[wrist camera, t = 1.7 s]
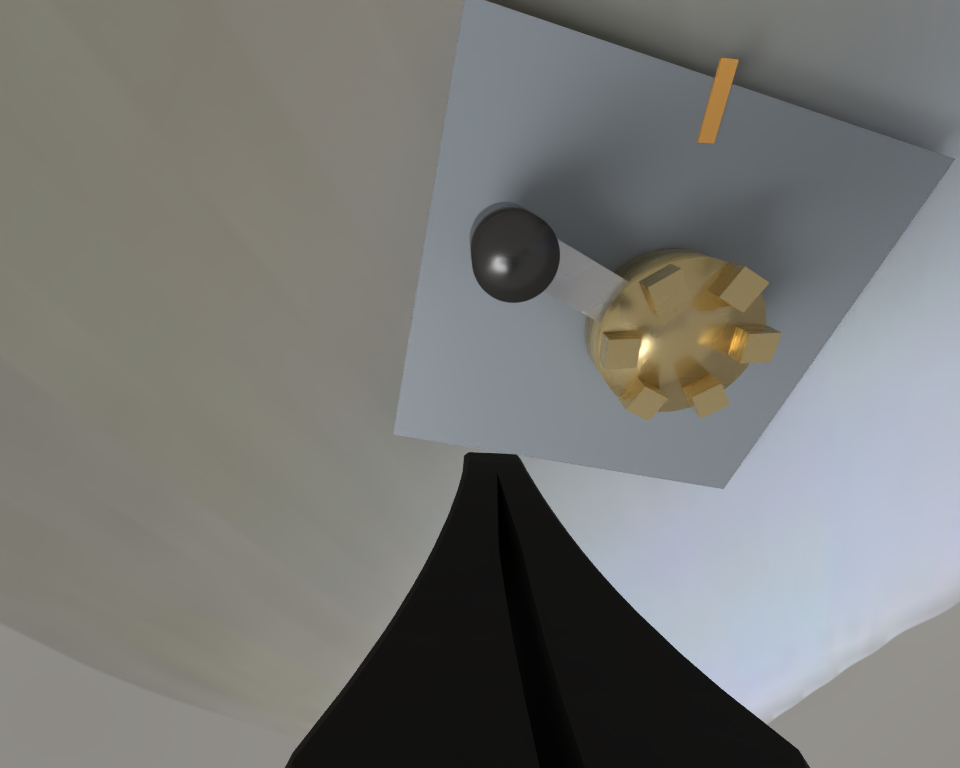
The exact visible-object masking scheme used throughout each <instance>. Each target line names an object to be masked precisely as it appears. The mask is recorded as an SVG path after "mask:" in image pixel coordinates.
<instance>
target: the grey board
mask: <svg viewBox="0 0 960 768" xmlns="http://www.w3.org/2000/svg"><path fill="white" fill-rule="evenodd" d="M738 61H739V59H729V58H720V60H719V64H718V68H717V71H716V75H715V78H714V77H711V76H708V75H705V74H702V73H699V72H696V71H693V70H690V69H687V68H684V67H681V66H678V65H675V64H672V63H669V62H666V61H663V60H660V59H657V58H654V57H651V56H648V55H645V54H643V53H640V52H637V51H634V50H631V49H628V48H625V47H622V46H619V45H616V44H613V43H610V42H607V41H604V40H601V39H598V38H595V37H592V36H589V35H586V34H583V33H580V32H577V31H574V30H571V29H569V28H566V27H563V26H560V25H557V24H554V23H551V22H548V21H545V20H542V19H539V18H536V17H533V16H530V15H527V14H524V13H521V12H518V11H515V10H512V9H509V8H506V7H503V6H500V5H497V4H495V3H492V2H489V1H486V0H464V4H463V10H462V16H461V22H460V28H459V34H458V40H457V46H456V53H455V59H454V65H453V71H452V77H451V83H450V89H449V95H448V101H447V108H446V114H445V120H444V126H443V132H442V138H441V144H440V150H439V157H438V163H437V169H436V175H435V181H434V187H433V193H432V199H431V206H430V212H429V218H428V224H427V230H426V236H425V242H424V248H423V255H422V261H421V267H420V273H419V279H418V285H417V291H416V297H415V304H414V310H413V316H412V322H411V328H410V334H409V340H408V346H407V353H406V359H405V365H404V371H403V377H402V383H401V389H400V395H399V402H398V408H397V414H396V420H395V426H394V432H393V435H399V436H405V437H412V438H418V439H424V440H430V441H436V442H442V443H448V444H454V445H460V446H466V447H472V448H478V449H484V450H490V451H496V452H502V453H509V454H517V455H521V456H527V457H533V458H539V459H545V460H551V461H557V462H563V463H569V464H575V465H581V466H587V467H593V468H600V469H606V470H612V471H618V472H624V473H630V474H636V475H642V476H648V477H654V478H660V479H666V480H672V481H678V482H684V483H690V484H697V485H703V486H709V487H715V488H721V489H724V488H725V486H726V485H727V483H728V482H729V480H730V479H731V478H732V476H733V475H734V473H735V472H736V470H737V469H738V468H739V466H740V465H741V463H742V462H743V460H744V459H745V458H746V456H747V455H748V453H749V452H750V450H751V449H752V448H753V446H754V445H755V443H756V442H757V441H758V439H759V438H760V436H761V435H762V433H763V432H764V431H765V429H766V428H767V426H768V425H769V423H770V422H771V421H772V419H773V418H774V416H775V415H776V413H777V412H778V411H779V409H780V408H781V406H782V405H783V403H784V402H785V401H786V399H787V398H788V396H789V395H790V393H791V392H792V391H793V389H794V388H795V386H796V385H797V384H798V382H799V381H800V379H801V378H802V376H803V375H804V374H805V372H806V371H807V369H808V368H809V366H810V365H811V364H812V362H813V361H814V359H815V358H816V356H817V355H818V354H819V352H820V351H821V349H822V348H823V346H824V345H825V344H826V342H827V341H828V339H829V338H830V337H831V335H832V334H833V332H834V331H835V329H836V328H837V327H838V325H839V324H840V322H841V321H842V319H843V318H844V317H845V315H846V314H847V312H848V311H849V309H850V308H851V307H852V305H853V304H854V302H855V301H856V299H857V298H858V297H859V295H860V294H861V292H862V291H863V289H864V288H865V287H866V285H867V284H868V282H869V281H870V280H871V278H872V277H873V275H874V274H875V272H876V271H877V270H878V268H879V267H880V265H881V264H882V262H883V261H884V260H885V258H886V257H887V255H888V254H889V252H890V251H891V250H892V248H893V247H894V245H895V244H896V242H897V241H898V240H899V238H900V237H901V235H902V234H903V232H904V231H905V230H906V228H907V227H908V225H909V224H910V223H911V221H912V220H913V218H914V217H915V215H916V214H917V213H918V211H919V210H920V208H921V207H922V205H923V204H924V203H925V201H926V200H927V198H928V197H929V195H930V194H931V193H932V191H933V190H934V188H935V187H936V185H937V184H938V183H939V181H940V180H941V178H942V177H943V176H944V174H945V173H946V171H947V170H948V168H949V167H950V166H951V164H952V163H953V161H954V160H955V159H953V158H950V157H947V156H944V155H941V154H938V153H936V152H933V151H930V150H927V149H924V148H921V147H918V146H915V145H912V144H909V143H906V142H903V141H900V140H897V139H894V138H891V137H888V136H885V135H882V134H879V133H876V132H873V131H870V130H867V129H864V128H862V127H859V126H856V125H853V124H850V123H847V122H844V121H841V120H838V119H835V118H832V117H829V116H826V115H823V114H820V113H817V112H814V111H811V110H808V109H805V108H802V107H799V106H796V105H793V104H790V103H788V102H785V101H782V100H779V99H776V98H773V97H770V96H767V95H764V94H761V93H758V92H755V91H752V90H749V89H746V88H743V87H740V86H737V85H734V84H732V81H733V78H734V75H735V71H736V68H737V64H738ZM497 202H512V203H516V204H518V205H520V206H522V207H524V208H525V209H527V210H528V211H530V212H532V213H533V214H535V215H537V216H538V217H540V218H541V219H543V220H544V221H545V222H546V223H547V224H548V225H549V226H550V227H551V228H552V230H553V231H554V233H555V235H556V237H557V238H558V239H559V240H561V241H563V242H564V243H566V244H568V245H569V246H571V247H573V248H574V249H576V250H578V251H579V252H581V253H583V254H584V255H586V256H588V257H589V258H591V259H593V260H594V261H596V262H598V263H599V264H601V265H603V266H604V267H606V268H608V269H609V270H611V271H613V272H615V271H617V270H618V269H619V268H620V267H621V266H623V265H624V264H626V263H627V262H629V261H630V260H632V259H634V258H636V257H638V256H640V255H643V254H645V253H648V252H651V251H654V250H659V249H664V248H685V249H690V250H694V251H697V252H700V253H703V254H705V255H708V256H711V257H714V258H717V259H720V260H723V261H725V262H728V263H730V262H734V263H737V264H740V265H743V266H746V267H747V268H749V269H750V270H752V271H753V272H754V273H756V274H757V275H759V276H760V277H762V278H763V279H765V280H766V281H768V282H769V284H768V285H767V286H766V288H765V289H764V290H763V291H762V295H763V298H764V301H765V307H766V324H765V325H768V326H770V327H772V328H774V329H776V330H778V331H780V332H782V334H781V336H780V339H779V342H778V345H777V347H776V350H775V353H774V356H773V358H772V361H771V362H764V363H750V364H749V365H748V367H747V368H746V369H745V370H744V372H743V373H742V374H741V375H740V376H739V377H738V378H737V379H736V380H735V381H734V382H733V383H732V384H731V385H730V386H728V387H727V388H726V389H725V393H726V396H727V399H728V402H729V406H727V407H725V408H722V409H720V410H718V411H716V412H714V413H712V414H710V415H707V416H705V417H703V418H700V417H699V416H698V415H697V414H696V413H695V412H694V411H693V410H692V409H691V408H686V409H682V410H677V411H670V412H656V413H655V415H654V416H653V417H652V418H651V419H650V420H649V421H648V420H645V419H643V418H641V417H639V416H637V415H635V414H633V413H631V412H629V411H627V410H626V409H625V408H624V406H623V405H622V404H621V402H620V401H619V399H620V398H619V397H617V396H616V395H615V394H614V393H613V391H612V390H611V389H610V388H609V386H608V385H607V383H606V382H605V380H604V379H603V377H602V376H601V374H600V373H599V371H598V370H597V368H596V367H595V365H594V364H593V362H592V361H591V359H590V357H589V354H588V352H587V348H586V344H585V336H584V335H585V323H586V317H587V315H585V314H583V313H581V312H579V311H578V310H576V309H574V308H572V307H570V306H569V305H567V304H565V303H563V302H561V301H559V300H558V299H556V298H554V297H552V296H550V295H549V294H547V293H545V292H542V293H541V294H539V295H538V296H536V297H535V298H533V299H530V300H528V301H524V302H519V303H508V302H503V301H499V300H497V299H495V298H493V297H491V296H490V295H488V294H487V293H486V292H485V291H484V290H483V289H482V288H481V286H480V285H479V284H478V282H477V280H476V278H475V275H474V273H473V268H472V261H471V252H470V242H469V236H470V230H471V226H472V224H473V222H474V220H475V218H476V217H477V215H478V214H479V213H480V212H481V211H482V210H483V209H485V208H486V207H488V206H489V205H491V204H494V203H497Z"/></svg>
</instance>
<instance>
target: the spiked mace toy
mask: <svg viewBox="0 0 960 768" xmlns="http://www.w3.org/2000/svg"><path fill="white" fill-rule="evenodd" d="M469 242H470V252H471V261H472V268H473V273H474V275H475V278H476V280H477V282H478V284H479V285H480V286H481V288H482V289H483V290H484V291H485V292H486V293H487V294H488V295H490V296H491V297H493V298H495V299H497V300H499V301H503V302H508V303H519V302H524V301H528V300H530V299H533V298H535V297H536V296H538V295H539V294H541V293H542V292H545V293H547V294H549V295H550V296H552V297H554V298H556V299H558V300H559V301H561V302H563V303H565V304H567V305H569V306H570V307H572V308H574V309H576V310H578V311H579V312H581V313H583V314H585V315H587V317H586V323H585V335H584V336H585V344H586V348H587V352H588V354H589V357H590V359H591V361H592V362H593V364H594V365H595V367H596V368H597V370H598V371H599V373H600V374H601V376H602V377H603V379H604V380H605V382H606V383H607V385H608V386H609V388H610V389H611V390H612V391H613V393H614V394H615V395H616V396H617V397H619V398H620V399H619V401H620V402H621V404H622V405H623V406H624V408H625V409H626V410H627V411H629V412H631V413H633V414H635V415H637V416H639V417H641V418H643V419H645V420H648V421H649V420H650V419H651V418H652V417H653V416H654V415H655V413H656V412H670V411H677V410H682V409H686V408H691V409H692V410H693V411H694V412H695V413H696V414H697V415H698V416H699V417H700V418H703V417H705V416H707V415H710V414H712V413H714V412H716V411H718V410H720V409H722V408H725V407H727V406H729V402H728V399H727V396H726V393H725V389H726V388H727V387H728V386H730V385H731V384H732V383H733V382H734V381H735V380H736V379H737V378H738V377H739V376H740V375H741V374H742V373H743V372H744V370H745V369H746V368H747V367H748V365H749V364H750V363H764V362H771V361H772V358H773V356H774V353H775V350H776V347H777V345H778V342H779V339H780V336H781V334H782V332H780V331H778V330H776V329H774V328H772V327H770V326H768V325H765V324H766V307H765V301H764V298H763V295H762V291H763V290H764V289H765V288H766V286H767V285H768V284H769V282H768V281H766V280H765V279H763V278H762V277H760V276H759V275H757V274H756V273H754V272H753V271H752V270H750V269H749V268H747V267H746V266H743V265H740V264H737V263H734V262H730V263H728V262H725V261H723V260H720V259H717V258H714V257H711V256H708V255H705V254H703V253H700V252H697V251H694V250H690V249H685V248H664V249H659V250H654V251H651V252H648V253H645V254H643V255H640V256H638V257H636V258H634V259H632V260H630V261H629V262H627V263H626V264H624V265H623V266H621V267H620V268H619V269H618V270H617V271H615V272H613V271H611V270H609V269H608V268H606V267H604V266H603V265H601V264H599V263H598V262H596V261H594V260H593V259H591V258H589V257H588V256H586V255H584V254H583V253H581V252H579V251H578V250H576V249H574V248H573V247H571V246H569V245H568V244H566V243H564V242H563V241H561V240H559V239H558V238H557V237H556V235H555V233H554V231H553V230H552V228H551V227H550V226H549V225H548V224H547V223H546V222H545V221H544V220H543V219H541V218H540V217H538V216H537V215H535V214H533V213H532V212H530V211H528V210H527V209H525V208H524V207H522V206H520V205H518V204H516V203H512V202H497V203H494V204H491V205H489V206H488V207H486V208H485V209H483V210H482V211H481V212H480V213H479V214H478V215H477V217H476V218H475V220H474V222H473V224H472V226H471V230H470V236H469Z"/></svg>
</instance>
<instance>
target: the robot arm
mask: <svg viewBox="0 0 960 768" xmlns="http://www.w3.org/2000/svg"><path fill="white" fill-rule="evenodd" d="M285 768H810V767H809V765H808V764H807V762H806V761H805V759H804V758H803V756H802V754H801V753H800V751H799V750H798V749H797V748H796V747H794V746H793V745H792V744H790V743H789V742H788V741H787V740H785V739H784V738H783V737H781V736H780V735H779V734H778V733H776V732H775V731H774V730H773V729H772V728H770V727H769V726H768V725H766V724H765V723H764V722H763V721H761V720H760V719H759V718H758V717H756V716H755V715H754V714H753V713H751V712H750V711H749V710H747V709H746V708H745V707H744V706H742V705H741V704H740V703H739V702H737V701H736V700H735V699H734V698H732V697H731V696H730V695H728V694H727V693H726V692H725V691H724V690H722V689H721V688H720V687H719V686H718V685H716V684H715V683H714V682H713V681H712V680H711V679H709V678H708V677H707V676H706V675H705V674H704V673H703V672H701V671H700V670H699V669H698V668H697V667H696V666H694V665H693V664H692V663H691V662H690V661H689V660H687V659H686V658H685V657H684V656H683V655H682V654H681V653H680V652H678V651H677V650H676V649H675V648H674V647H673V646H672V645H671V644H670V643H669V642H668V641H667V640H666V639H665V638H664V637H663V636H662V635H661V634H660V633H659V632H657V631H656V630H655V629H654V628H653V627H652V626H651V625H650V624H649V623H648V622H647V621H646V620H645V619H644V618H643V617H642V616H641V615H640V614H639V613H637V611H636V610H635V609H634V608H633V607H632V606H631V605H630V604H629V603H628V602H627V601H626V600H625V599H624V598H623V597H622V596H621V595H620V594H619V593H618V592H617V591H616V590H615V588H614V587H613V586H612V585H611V584H610V583H609V582H608V581H607V579H606V578H605V577H604V576H603V575H602V574H601V573H600V572H599V571H598V569H597V568H596V567H595V566H594V565H593V563H592V562H591V561H590V560H589V559H588V557H587V556H586V555H585V554H584V553H583V551H582V550H581V549H580V547H579V546H578V545H577V544H576V542H575V541H574V540H573V538H572V537H571V536H570V535H569V533H568V532H567V531H566V529H565V528H564V526H563V525H562V524H561V522H560V521H559V520H558V518H557V517H556V515H555V514H554V512H553V511H552V509H551V508H550V507H549V505H548V504H547V502H546V501H545V499H544V498H543V496H542V495H541V493H540V491H539V490H538V488H537V487H536V485H535V483H534V482H533V480H532V478H531V477H530V475H529V473H528V472H527V470H526V468H525V466H524V465H523V463H522V461H521V459H520V458H519V457H518V455H517V454H498V453H474V452H469V453H467V454H466V455H464V464H463V472H462V477H461V480H460V484H459V487H458V490H457V493H456V496H455V499H454V501H453V504H452V507H451V510H450V512H449V515H448V517H447V519H446V522H445V524H444V526H443V528H442V530H441V533H440V535H439V537H438V539H437V541H436V544H435V546H434V548H433V550H432V552H431V553H430V555H429V557H428V559H427V561H426V563H425V565H424V567H423V569H422V570H421V572H420V574H419V576H418V578H417V579H416V581H415V583H414V585H413V586H412V588H411V590H410V591H409V593H408V594H407V596H406V598H405V599H404V601H403V603H402V604H401V606H400V608H399V609H398V611H397V612H396V614H395V616H394V617H393V619H392V620H391V622H390V623H389V625H388V626H387V628H386V629H385V631H384V632H383V634H382V635H381V637H380V638H379V639H378V641H377V642H376V644H375V645H374V646H373V648H372V649H371V651H370V652H369V654H368V655H367V656H366V658H365V659H364V661H363V662H362V664H361V665H360V666H359V668H358V669H357V671H356V672H355V673H354V675H353V676H352V678H351V679H350V680H349V682H348V683H347V684H346V686H345V687H344V688H343V690H342V691H341V692H340V694H339V695H338V696H337V697H336V699H335V700H334V701H333V702H332V704H331V705H330V706H329V707H328V709H327V710H326V711H325V713H324V714H323V715H322V716H321V718H320V719H319V720H318V721H317V723H316V724H315V725H314V726H313V728H312V729H311V730H310V732H309V733H308V734H307V735H306V737H305V738H304V739H303V740H302V742H301V743H300V744H299V746H298V747H297V748H296V749H295V751H294V752H293V754H292V755H291V757H290V759H289V761H288V763H287V765H286V767H285Z"/></svg>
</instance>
